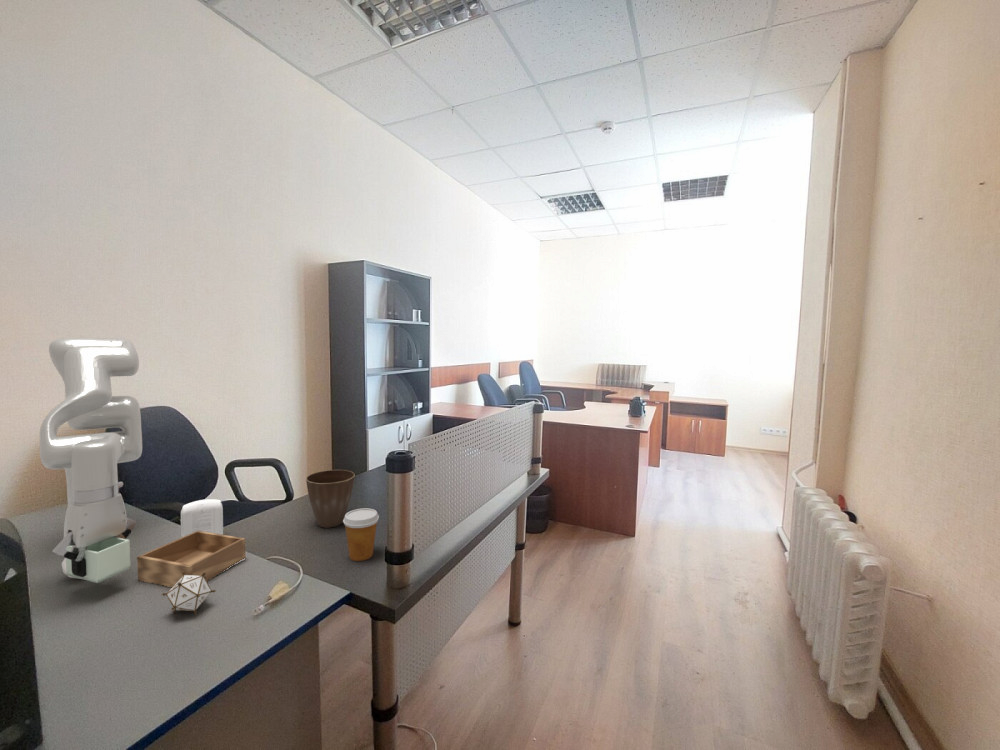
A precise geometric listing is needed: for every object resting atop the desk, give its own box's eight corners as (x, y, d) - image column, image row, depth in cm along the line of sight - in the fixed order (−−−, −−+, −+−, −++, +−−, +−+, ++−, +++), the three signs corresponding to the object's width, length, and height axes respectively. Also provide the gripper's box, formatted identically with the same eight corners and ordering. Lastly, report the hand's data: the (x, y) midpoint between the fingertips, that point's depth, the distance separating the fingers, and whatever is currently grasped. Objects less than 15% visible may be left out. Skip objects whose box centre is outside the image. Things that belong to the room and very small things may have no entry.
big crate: (137, 580, 103) (137, 556, 102) (198, 551, 118) (197, 530, 117) (189, 591, 98) (188, 567, 98) (245, 559, 113) (245, 538, 113)
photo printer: (223, 534, 128) (222, 495, 128) (223, 539, 125) (222, 499, 124) (181, 542, 123) (180, 501, 122) (180, 548, 119) (179, 506, 118)
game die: (187, 631, 90) (162, 614, 83) (171, 605, 94) (146, 587, 87) (228, 597, 95) (208, 578, 89) (212, 574, 99) (191, 554, 93)
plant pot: (342, 510, 148) (342, 466, 147) (362, 523, 138) (362, 476, 137) (299, 522, 138) (298, 475, 137) (317, 537, 127) (317, 486, 126)
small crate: (66, 575, 96) (65, 546, 95) (100, 560, 102) (99, 533, 101) (97, 583, 93) (96, 553, 93) (130, 568, 99) (129, 540, 99)
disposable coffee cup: (385, 551, 119) (386, 511, 118) (362, 567, 111) (361, 523, 110) (360, 544, 123) (360, 505, 122) (335, 559, 114) (335, 517, 114)
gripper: (126, 479, 105) (128, 547, 107) (34, 504, 89) (39, 584, 90) (148, 483, 103) (150, 552, 105) (59, 509, 87) (63, 591, 88)
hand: (99, 566), depth 97 cm, fingers closed on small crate, 6 cm apart
